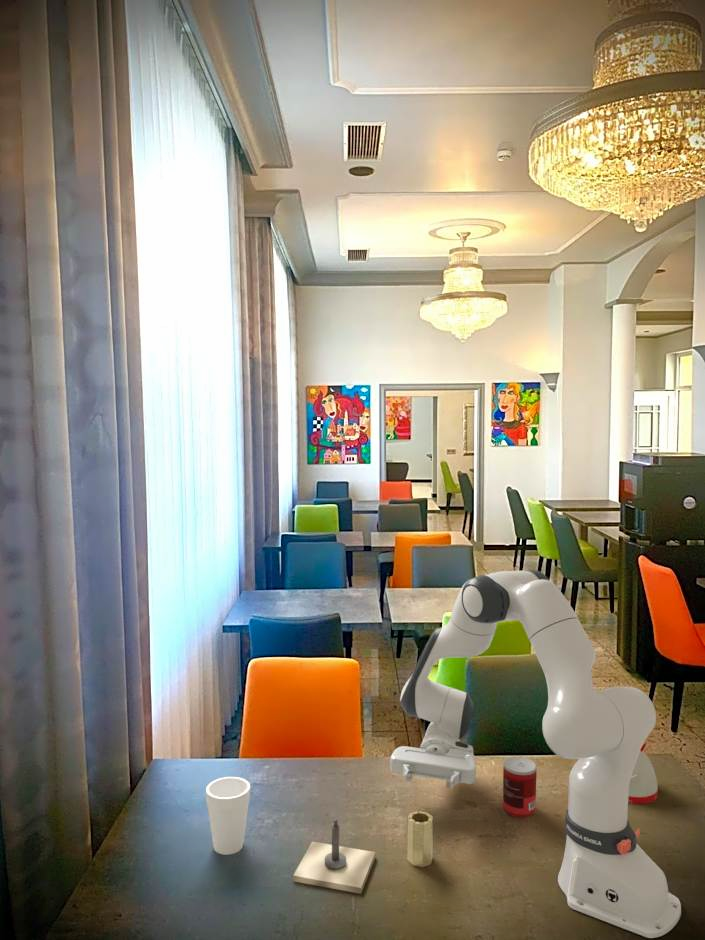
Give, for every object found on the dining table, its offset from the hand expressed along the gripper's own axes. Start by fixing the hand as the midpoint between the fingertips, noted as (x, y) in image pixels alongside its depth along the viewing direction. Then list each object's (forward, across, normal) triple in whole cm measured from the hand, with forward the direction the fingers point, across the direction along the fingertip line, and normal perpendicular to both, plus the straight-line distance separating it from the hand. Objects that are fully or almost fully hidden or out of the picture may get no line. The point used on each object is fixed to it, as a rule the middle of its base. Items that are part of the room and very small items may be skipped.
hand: (428, 781), depth 159 cm
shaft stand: (+21, -16, +10) cm, 28 cm away
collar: (+13, 0, +10) cm, 16 cm away
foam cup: (+19, -40, +11) cm, 46 cm away
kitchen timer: (-30, +46, +11) cm, 56 cm away
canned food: (-13, +20, +11) cm, 26 cm away
